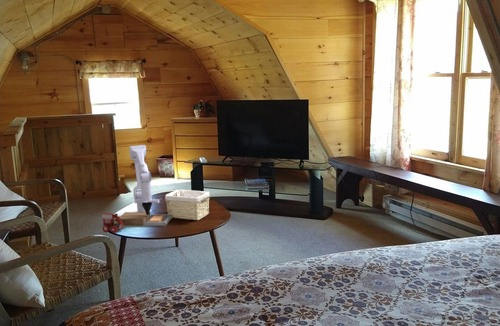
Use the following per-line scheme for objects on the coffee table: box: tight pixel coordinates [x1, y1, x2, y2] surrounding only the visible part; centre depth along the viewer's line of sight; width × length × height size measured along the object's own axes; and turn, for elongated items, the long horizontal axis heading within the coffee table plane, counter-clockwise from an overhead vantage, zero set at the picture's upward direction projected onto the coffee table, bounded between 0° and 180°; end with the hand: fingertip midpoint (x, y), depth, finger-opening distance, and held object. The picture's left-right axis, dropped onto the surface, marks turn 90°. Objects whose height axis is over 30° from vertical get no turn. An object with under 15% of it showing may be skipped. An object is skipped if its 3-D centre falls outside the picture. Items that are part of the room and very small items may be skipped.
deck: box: [119, 211, 151, 227], centre depth 262 cm, size 14×16×4 cm
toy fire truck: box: [101, 212, 124, 234], centre depth 247 cm, size 7×12×10 cm, turn 75°
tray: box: [143, 213, 173, 227], centre depth 260 cm, size 15×13×2 cm
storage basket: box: [164, 189, 211, 221], centre depth 270 cm, size 24×16×15 cm
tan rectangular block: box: [149, 216, 164, 222], centre depth 260 cm, size 9×6×2 cm, turn 175°
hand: (148, 214), depth 260 cm, fingers closed
